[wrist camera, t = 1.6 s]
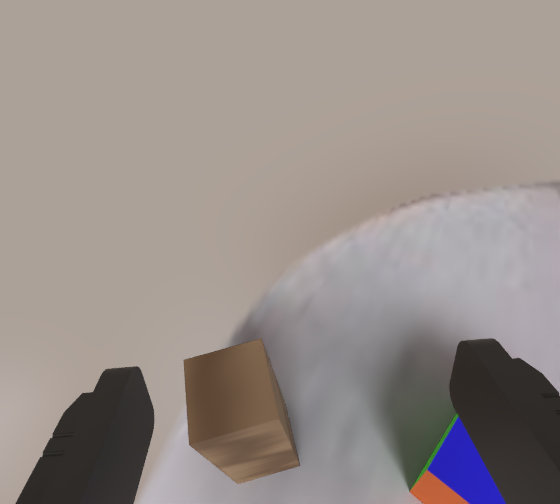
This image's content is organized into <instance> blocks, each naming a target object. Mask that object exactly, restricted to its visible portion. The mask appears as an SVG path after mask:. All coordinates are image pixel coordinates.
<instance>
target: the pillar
mask: <svg viewBox="0 0 560 504" xmlns="http://www.w3.org/2000/svg"><path fill="white" fill-rule="evenodd" d="M184 372H185V387H186V404H187V419H188V434H189V445H190V446H191V447H192V448H194V449H195V450H196V451H197V452H199V453H200V454H201V455H202V456H204V457H205V458H206V459H207V460H209V461H210V462H211V463H212V464H214V465H215V466H216V467H217V468H219V469H220V470H221V471H222V472H224V473H225V474H226V475H227V476H229V477H230V478H231V479H232V480H234V481H235V482H236V483H237V484H240V483H243V482H246V481H250V480H253V479H257V478H260V477H263V476H267V475H270V474H274V473H277V472H280V471H284V470H287V469H290V468H294V467H297V466H300V464H299V460H298V456H297V451H296V447H295V443H294V439H293V435H292V430H291V426H290V422H289V418H288V414H287V409H286V405H285V402H284V399H283V396H282V393H281V391H280V388H279V385H278V382H277V380H276V377H275V374H274V372H273V369H272V366H271V363H270V361H269V358H268V355H267V352H266V350H265V347H264V344H263V342H262V339H258V340H254V341H250V342H247V343H243V344H240V345H236V346H232V347H229V348H225V349H222V350H218V351H214V352H211V353H208V354H204V355H200V356H196V357H193V358H189V359H186V360H184Z"/></svg>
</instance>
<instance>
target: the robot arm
mask: <svg viewBox="0 0 560 504" xmlns="http://www.w3.org/2000/svg"><path fill="white" fill-rule="evenodd" d="M449 388H450V396H451V400H452V404H453V406H454V408H455V410H456V412H457V414H458V416H459V418H460V420H461V422H462V423H463V425H464V427H465V429H466V431H467V433H468V435H469V436H470V438H471V440H472V442H473V444H474V446H475V447H476V449H477V451H478V453H479V455H480V457H481V459H482V460H483V462H484V464H485V466H486V468H487V470H488V471H489V473H490V475H491V477H492V479H493V481H494V483H495V484H496V486H497V488H498V490H499V492H500V494H501V495H502V497H503V499H504V501H505V503H506V504H560V396H559V392H558V391H557V390H556V389H555V388H554V387H553V385H552V384H551V383H550V382H549V381H548V380H547V379H546V377H545V376H544V375H543V374H542V373H541V372H539V371H538V370H536V369H535V368H533V367H532V366H530V365H529V364H528V363H526V362H525V361H523V360H522V359H520V358H516V359H512V358H511V357H510V356H509V354H508V353H507V352H506V351H505V350H504V348H503V347H502V346H501V345H500V343H499V342H498V341H496V340H495V339H492V338H491V339H478V340H466V341H461V342H460V343H459V344H458V347H457V352H456V356H455V361H454V365H453V370H452V375H451V379H450V386H449ZM153 429H154V409H153V405H152V402H151V399H150V396H149V393H148V390H147V387H146V384H145V381H144V378H143V375H142V372H141V370H140V368H139V367H125V368H112V369H106V370H105V371H104V372H103V373H102V375H101V376H100V379H99V381H98V383H97V385H96V387H95V389H94V391H93V392H91V393H82V394H81V395H80V396H79V397H78V398H77V399H76V401H75V402H74V403H73V404H72V405H71V406H70V407H69V408H68V409H67V410H66V411H65V412H64V414H63V416H62V417H61V419H60V421H59V423H58V425H57V427H56V428H55V430H54V432H53V437H52V438H50V440H49V442H48V444H47V445H46V447H45V449H44V451H43V456H42V457H40V459H39V460H38V462H37V464H36V466H35V468H34V470H33V472H32V474H31V475H30V477H29V479H28V481H27V483H26V485H25V487H24V489H23V490H22V493H21V494H20V496H19V498H18V500H17V502H16V504H133V503H134V500H135V496H136V492H137V489H138V485H139V481H140V478H141V474H142V470H143V467H144V463H145V460H146V456H147V452H148V448H149V445H150V441H151V438H152V433H153Z"/></svg>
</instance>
